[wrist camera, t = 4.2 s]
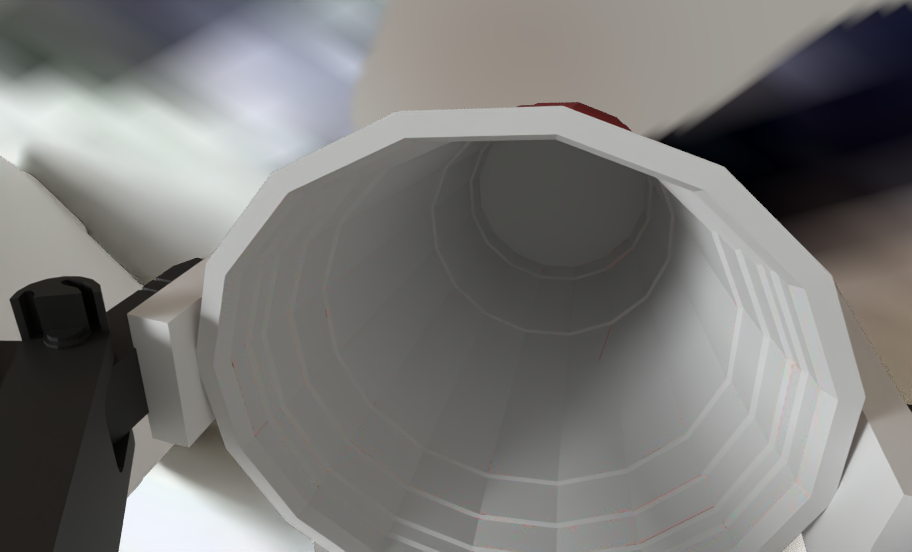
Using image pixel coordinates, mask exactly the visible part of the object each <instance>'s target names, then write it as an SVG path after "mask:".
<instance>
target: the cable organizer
mask: <svg viewBox="0 0 912 552" xmlns="http://www.w3.org/2000/svg"><path fill="white" fill-rule="evenodd" d="M62 276H81V277H85V278H90V279H93V280H94V281H96V282H97V283H99V284H100V286H101V291H102V295H103V300H104V304H105V309H106V312H107V311H108V310H110V309H111V308H113V307H114V306H116V305H117V304H119V303H120V302H121V301H123V300H124V299H126V298H127V297H129V296H130V295H132V294H133V293H135V292H136V291H138V290H142V287H144V285H142V284H139V283H138V282H137V281H136V280H135V279H134V278H133V277H132V276H131V275H130V274H129V273H128V272H127V271H126V270H125V269H124V268H123V267H122V266H120V265H119V264H118V263H117V262H116V261H115V260H114V259H113V258H112V257H111V256H110V255H109V254H108V253H107V252H106V251H105V250H104V249H103V248H102V247H101V246H100V245H99V244H98V243H97V242H96V241H94V240H93V239H92V238H91V237H90V236H89V235H88V234H87V230H86V228H85V226H84V225H83V223H82V222H81V221H80V220H79V219H78V218H77V217H76V216H75V215H74V214H73V213H71V212H70V211H69V210H68V209H67V208H66V207H65V206H64V205H63V204H62V203H61V202H60V201H59V200H58V199H57V198H56V197H55V196H54V195H53V194H52V193H51V192H50V191H49V190H48V189H47V188H46V187H44V186H43V185H42V184H41V183H40V182H39V181H38V180H37V179H36V178H35V177H33V176H32V175H30V174H28V173H26V172H22V171H21V170H20V169H19V168H18V167H16V166H15V165H14V164H12V163H11V162H9V161H8V160H6V159H5V158H3V157H1V156H0V341H22V339H21V336H20V333H19V329H18V326H17V323H16V320H15V316H14V313H13V310H12V307H11V303H10V300H9V299H10V298H11V297H12V296H13V295H14V294H15V293H16V292H17V291H18V290H20V289H22V288H24V287H25V286H27V285H29V284H32V283H35V282H38V281H41V280H44V279H48V278H55V277H62ZM132 430H133V434H134V439H135V450H134V456H133V463H132V469H131V475H130V481H129V488H128V494H127V498H128V496H129V495H130V494H131V493H132V492H133V491H134V490H135V489H136V488H137V487H138V486H139V484H140V483H141V482H142V480H143V478H144V477H145V476H146V475H147V473H148V472H149V471H150V470H151V469H152V468H153V467H154V466H155V465H156V464H157V463H158V462H159V461H160V460H161V458H162V457H163V456H164V455H165V454H166V453H167V452H168V451H169V450H170V449H171V448H172V447H173V446H174V445H175V444H172V443H168V442H164V441H161V440H157V439H153V438H152V434H151V429H150V424H149V419H148V414H147V415H146V416H145V417H144V418H143V419H142V420H141V421H139V422H138V423H137V424H136V425H135V426H134V427H133V428H132Z"/></svg>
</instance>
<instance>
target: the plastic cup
mask: <svg viewBox="0 0 912 552" xmlns="http://www.w3.org/2000/svg"><path fill="white" fill-rule="evenodd" d="M196 358H197V364H198V369H199V373H200V376H201V379H202V382H203V385H204V388H205V391H206V393H207V396H208V399H209V402H210V405H211V408H212V410H213V413H214V416H215V419H216V422H217V425H218V428H219V430H220V433H221V436H222V439H223V442H224V445H225V448H226V450H227V451H228V452H229V453H230V454H231V456H232V457H233V458H234V459H235V460H236V462H237V463H238V464H239V465H240V467H241V468H242V469H243V470H244V471H245V473H246V474H247V475H248V476H249V477H250V479H251V480H252V481H253V482H254V483H255V485H256V486H257V487H258V488H259V490H260V491H261V492H262V493H263V494H264V496H265V497H266V498H267V499H268V500H269V502H270V503H271V504H272V505H273V507H274V508H275V509H276V510H277V511H278V513H279V514H280V515H281V516H282V517H283V519H284V520H285V521H286V522H287V523H288V524H290V525H291V526H293V527H294V528H296V529H297V530H299V531H300V532H301V533H303V534H304V535H306V536H307V537H309V538H310V539H312V540H313V541H315V542H316V543H318V544H319V545H320V546H322V547H323V548H325V549H326V550H328V551H329V552H782V551H783V550H784V549H785V548H786V547H787V546H788V545H789V544H790V543H791V542H792V541H793V540H794V539H795V538H796V537H797V536H798V535H799V534H800V533H801V532H802V531H803V530H804V529H805V528H806V527H807V526H808V525H809V524H810V523H811V522H812V521H814V520H815V519H816V518H817V517H818V516H819V515H820V514H821V513H822V512H823V511H824V510H825V509H826V508H827V507H828V506H829V504H830V502H831V501H832V499H833V497H834V495H835V493H836V492H837V488H838V485H839V482H840V479H841V475H842V472H843V469H844V466H845V462H846V459H847V456H848V453H849V449H850V446H851V443H852V440H853V437H854V433H855V430H856V427H857V424H858V420H859V417H860V414H861V411H862V407H863V404H864V401H865V398H866V396H865V393H864V389H863V385H862V382H861V378H860V375H859V371H858V367H857V364H856V360H855V356H854V353H853V349H852V345H851V342H850V338H849V334H848V331H847V327H846V324H845V320H844V316H843V313H842V309H841V305H840V302H839V298H838V294H837V291H836V287H835V284H834V280H833V276H832V275H831V274H830V273H829V272H828V271H827V270H826V269H825V268H824V267H823V266H822V265H821V264H820V263H819V262H818V261H817V260H816V259H815V258H814V257H813V256H812V255H811V254H810V253H809V252H808V251H807V250H806V249H805V248H804V247H803V246H802V245H801V244H800V243H799V242H798V241H797V240H796V239H795V238H794V237H793V236H792V235H791V234H790V233H789V232H788V231H787V230H786V229H785V228H784V227H783V226H782V225H781V224H780V223H779V222H778V221H777V220H776V219H775V218H774V217H773V216H772V215H771V214H770V213H769V212H768V210H767V209H766V208H765V207H764V206H763V205H762V204H761V203H760V202H759V201H758V200H757V199H756V198H755V197H754V196H753V195H752V194H751V193H750V192H749V191H748V190H747V189H746V188H745V187H744V186H743V185H742V184H741V183H740V182H739V181H738V180H737V179H736V178H735V177H734V176H733V175H732V174H731V173H730V172H729V171H728V170H727V169H726V168H725V167H723V166H721V165H718V164H715V163H713V162H710V161H707V160H705V159H702V158H699V157H697V156H694V155H692V154H689V153H686V152H684V151H681V150H678V149H676V148H673V147H670V146H668V145H665V144H662V143H660V142H657V141H655V140H652V139H649V138H647V137H644V136H641V135H639V134H636V133H633V132H632V131H631V130H630V129H629V128H628V127H627V126H626V125H624V124H623V123H622V122H621V121H620V120H619V119H617V117H614V116H612V115H609V114H607V113H604V112H602V111H599V110H597V109H594V108H592V107H589V106H587V105H584V104H581V103H578V102H576V103H575V102H572V103H537V104H535V105H523V106H518V107H512V108H511V107H510V108H481V109H449V110H418V111H396V112H394V113H392V114H390V115H388V116H386V117H384V118H382V119H380V120H378V121H376V122H374V123H372V124H370V125H368V126H366V127H364V128H362V129H359V130H357V131H355V132H353V133H351V134H349V135H347V136H345V137H343V138H341V139H339V140H337V141H335V142H333V143H331V144H329V145H327V146H325V147H323V148H321V149H319V150H317V151H315V152H313V153H311V154H308V155H306V156H304V157H302V158H300V159H298V160H296V161H294V162H292V163H290V164H288V165H286V166H284V167H282V168H280V169H278V170H276V171H274V172H272V173H271V174H270V176H269V177H268V178H267V180H266V181H265V182H264V184H263V185H262V187H261V188H260V189H259V191H258V192H257V194H256V195H255V196H254V198H253V199H252V200H251V202H250V203H249V205H248V206H247V207H246V209H245V210H244V211H243V213H242V214H241V216H240V217H239V218H238V220H237V221H236V223H235V224H234V225H233V227H232V228H231V229H230V231H229V232H228V234H227V235H226V236H225V238H224V239H223V241H222V242H221V243H220V245H219V246H218V247H217V249H216V250H215V252H214V253H213V254H212V256H211V257H210V258H209V260H208V261H207V263H206V267H205V275H204V284H203V293H202V302H201V311H200V320H199V329H198V338H197V347H196Z"/></svg>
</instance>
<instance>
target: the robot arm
mask: <svg viewBox="0 0 912 552" xmlns="http://www.w3.org/2000/svg"><path fill="white" fill-rule="evenodd" d="M214 252H215V251H214ZM214 252H213V253H214ZM213 253H212V254H213ZM212 254H210V255H209V256H207V257H206V258H205V259H200V258H195V259H192V260H189V261H186V262H184V263H181V264H178V265H175V266H173V267H171V268H170V269H169V270H167V271H166V272H164V273H163V274H161V275H160V276H158V277H157V278H156V281H155V280H152V281H151V282H149V283H148V284H146V285H145V286H144V287H142V290H138V291H136V292H135V293H133V294H132V295H130V296H129V297H127V298H126V299H124V300H123V301H121V302H120V303H119V304H117V305H116V306H114V307H113V308H111V309H110V310H108V311H107V312H106V309H105V304H104V300H103V295H102V291H101V286H100V284H99V283H97V282H96V281H94V280H93V279H90V278H85V277H81V276H62V277H55V278H48V279H44V280H41V281H38V282H35V283H32V284H29V285H27V286H25V287H24V288H22V289H20V290H18V291H17V292H16V293H15V294H14V295H13V296H12V297H11V298H10V299H9V300H10V303H11V307H12V310H13V313H14V316H15V320H16V323H17V326H18V329H19V333H20V336H21V339H22V341H0V552H118V551H119V544H120V538H121V532H122V525H123V519H124V513H125V507H126V500H127V494H128V488H129V481H130V475H131V469H132V463H133V456H134V450H135V439H134V434H133V430H132V428H133V427H134V426H135V425H136V424H137V423H138V422H139V421H141V420H142V419H143V418H144V417H145V416H146V415H147V414H148V419H149V424H150V429H151V434H152V438H153V439H157V440H161V441H164V442H168V443H172V444H175V445H179V446H183V447H186V448H189V447H190V446H191V445H192V444H193V443H194V442H195V441H196V440H197V438H198V437H199V436H200V435H201V434H202V433H203V432H204V431H205V430H206V428H207V427H208V426H209V425H210V424H211V423H212V422H213V421H214V420H215V416H214V413H213V410H212V408H211V405H210V402H209V399H208V396H207V393H206V391H205V388H204V385H203V382H202V379H201V376H200V373H199V369H198V364H197V358H196V347H197V338H198V329H199V320H200V311H201V302H202V293H203V284H204V275H205V267H206V263H207V261H208V260H209V258H210V257H211V256H212ZM834 284H835V282H834ZM835 287H836V291H837V294H838V298H839V302H840V305H841V309H842V313H843V316H844V320H845V324H846V327H847V331H848V334H849V338H850V342H851V345H852V349H853V353H854V356H855V360H856V364H857V367H858V371H859V375H860V378H861V382H862V385H863V389H864V393H865V396H866V398H865V401H864V404H863V407H862V411H861V414H860V417H859V420H858V424H857V427H856V430H855V433H854V437H853V440H852V443H851V446H850V449H849V453H848V456H847V459H846V462H845V466H844V469H843V472H842V475H841V479H840V482H839V485H838V488H837V492H836V493H835V495H834V497H833V499H832V501H831V502H830V504H829V506H828V507H827V508H826V509H825V510H824V511H823V512H822V513H821V514H820V515H819V516H818V517H817V518H816V519H815V520H814V521H812V522H811V523H810V524H809V525H808V526H807V527H806V528H805V529H804V530H803V531H802V532H801V533H802V536H803V540H804V543H805V547H806V551H807V552H912V405H909V404H906V402H905V401H904V399H903V397H902V396H901V394H900V392H899V390H898V389H897V387H896V385H895V384H894V382H893V380H892V379H891V377H890V375H889V374H888V372H887V370H886V368H885V367H884V365H883V363H882V362H881V360H880V358H879V357H878V355H877V353H876V352H875V350H874V348H873V347H872V345H871V343H870V341H869V340H868V338H867V336H866V335H865V333H864V331H863V330H862V328H861V326H860V325H859V323H858V321H857V319H856V318H855V316H854V314H853V313H852V311H851V309H850V308H849V306H848V304H847V303H846V301H845V299H844V298H843V296H842V294H841V292H840V291H839V289H838V287H837V286H836V284H835Z"/></svg>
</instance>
